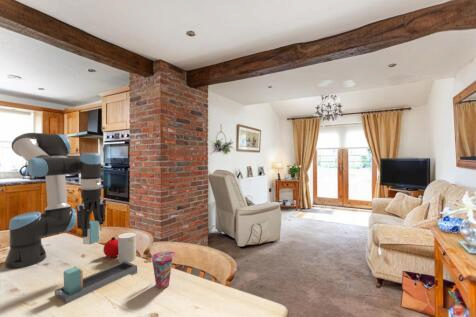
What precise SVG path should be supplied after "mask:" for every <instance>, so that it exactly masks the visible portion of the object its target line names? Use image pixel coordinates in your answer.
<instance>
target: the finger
mask: <svg viewBox="0 0 476 317" xmlns="http://www.w3.org/2000/svg"><path fill="white" fill-rule="evenodd" d="M88 228H89V229H90V244H89V245H92V244H95V243H97V242H99V240H98V237H99V222H98V221H95V219H93V220H92V219H91V220H90V221H89V226H88ZM82 243H83V244H84V242H82ZM84 245H85V244H84Z"/></svg>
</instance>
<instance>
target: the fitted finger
mask: <svg viewBox="0 0 476 317" xmlns="http://www.w3.org/2000/svg"><path fill="white" fill-rule="evenodd" d="M83 272H84V270H83V269H81V268H80V267H77V266H74V267H70V268H68V269H65V270H63V287H64V293H66V294H67V295H70V294H72V293H74V292H77V291H79V290H81V287H83V278H84V277H83V276H84V274H83Z"/></svg>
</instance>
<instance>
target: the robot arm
mask: <svg viewBox="0 0 476 317" xmlns="http://www.w3.org/2000/svg"><path fill="white" fill-rule="evenodd" d="M71 149H72V148H71V141H70V140H69V138H68V136H66V135H65V134H61V133H45V132H44V133H42V132H26V133H22V134H20V135H17V137H15V138H14V139H13V140H12V142H11V150H12V151H13V152H14V153H15V155H17V156H19V157H22V158H23V159H24V160H25V161H26V162H27V172H28V175H29V176H31V177H41V178H43V177H45V187H46V201H47V206H46V207H45V208H44V211H43V213H41V211H30V212H25V213H21V214H19V215H15V216H14V217H12V218H11V219H10V220H9V227H8V230H9V249H8V250H9V251H8V252H7V255H6V258H5V261H4V266H5V268H7V269H19V268H26V267H29V266H33V265H36V264H38V263H41V262H43V261H44V260H45V259H46V258H47V252H46V249H45V247H44V246H43V243H42V238H43V237H48V236H53V235H55V234H60V233H61V234H62V233H65V232H69V231H71V230H73V228H74V227H75V226H76V225H77V226H76V228H77V230H81V234H82V235H81V237H82V239H83V240H82V241H83V242H84V245H91V244H90V229H89V228H88V226H89V221H90V218H91V214H93V218H94V219H93V220H94V221H98V222H99V237H98V240H101V231H102V225H103V224H104V222H106V203H107V200H106V199H102V198H101V197H102V188H101V187H102V160H101V154H100V153H98V152H82V153H80V155H79V156H77V157H76V156H75V157H68V156H69V155H70V153H71ZM66 175H67V176H68V175H80V188H81V190H80V197H81V199H82V201H81V203H80V204H79V205H76V206H75V209H74V208H72V206H71V204H69V203H68V194H67V183H66V182H67V181H66ZM83 242H82V243H83Z"/></svg>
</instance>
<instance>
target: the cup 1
mask: <svg viewBox="0 0 476 317" xmlns="http://www.w3.org/2000/svg"><path fill="white" fill-rule="evenodd" d="M117 239H118V256H117V257H118V260H117V261H118V262H119V263H122V262H124V261H127V262H129V263H131V262H133V261H135V260H136V259H137V234H136V233H135V232H124V233H120V234H118V236H117ZM134 259H135V260H134ZM132 260H133V261H132Z"/></svg>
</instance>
